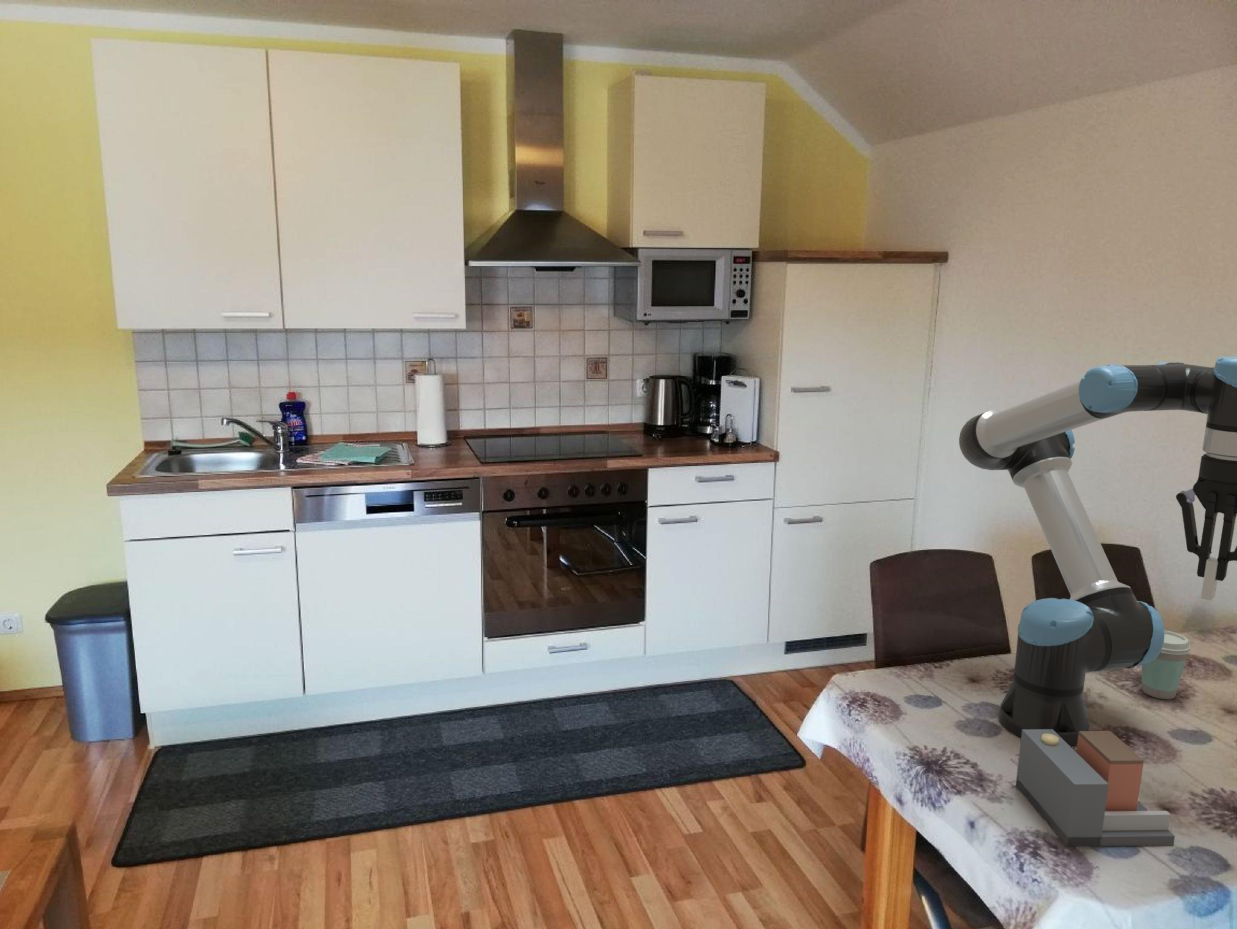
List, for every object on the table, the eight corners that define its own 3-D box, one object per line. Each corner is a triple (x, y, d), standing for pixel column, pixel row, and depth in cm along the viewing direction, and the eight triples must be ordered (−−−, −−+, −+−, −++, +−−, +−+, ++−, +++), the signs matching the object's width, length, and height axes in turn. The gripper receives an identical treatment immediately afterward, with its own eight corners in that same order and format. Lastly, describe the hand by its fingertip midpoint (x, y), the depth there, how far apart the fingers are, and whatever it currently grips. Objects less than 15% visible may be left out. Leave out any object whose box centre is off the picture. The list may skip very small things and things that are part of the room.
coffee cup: (1192, 703, 178) (1201, 645, 175) (1148, 702, 178) (1156, 644, 176) (1167, 683, 186) (1175, 628, 184) (1125, 682, 186) (1133, 627, 184)
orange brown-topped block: (1102, 819, 136) (1110, 760, 134) (1071, 786, 144) (1078, 731, 142) (1135, 818, 136) (1143, 760, 134) (1102, 786, 145) (1110, 730, 143)
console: (1066, 846, 132) (1075, 779, 130) (1015, 785, 148) (1022, 724, 146) (1173, 845, 133) (1184, 778, 131) (1111, 784, 149) (1119, 724, 147)
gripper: (1283, 458, 142) (1259, 601, 147) (1187, 447, 150) (1168, 582, 155) (1276, 465, 136) (1251, 613, 141) (1177, 453, 145) (1157, 593, 150)
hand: (1207, 597), depth 148 cm, fingers closed
